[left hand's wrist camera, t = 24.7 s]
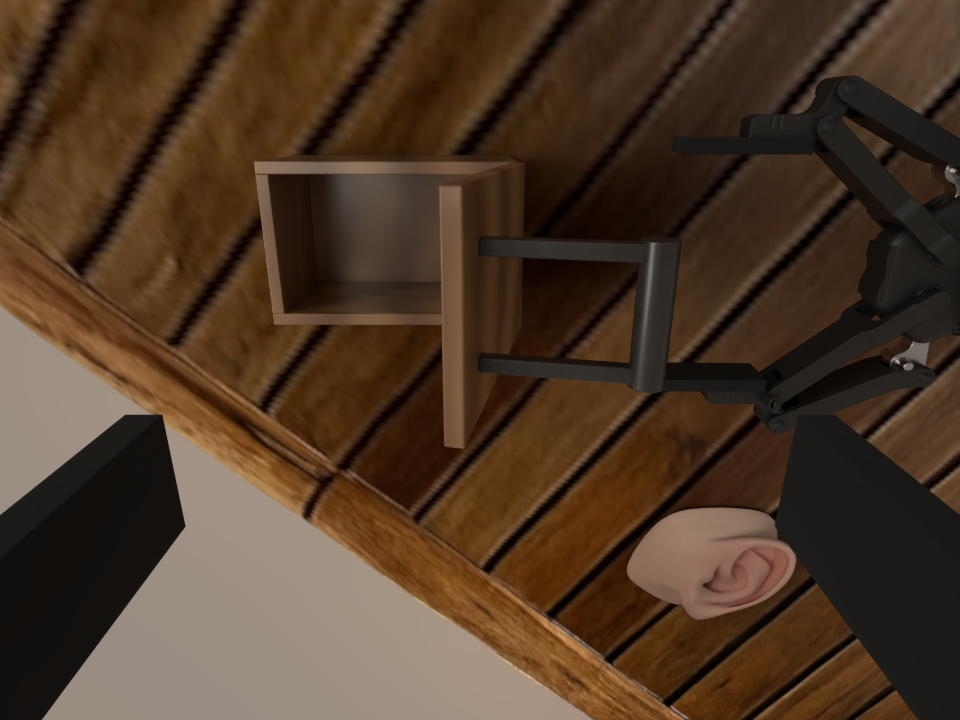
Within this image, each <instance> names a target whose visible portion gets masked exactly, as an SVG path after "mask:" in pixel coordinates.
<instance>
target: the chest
mask: <svg viewBox="0 0 960 720" xmlns="http://www.w3.org/2000/svg"><path fill="white" fill-rule="evenodd" d="M511 162H517V161H516V160H514V159H513V158H512V157H511V156H509V155H296V156H289V157H282V158H274V159H267V160H260V161H254V165H255V173H256V181H257V189H258V197H259V205H260V213H261V221H262V229H263V237H264V245H265V253H266V261H267V269H268V277H269V285H270V293H271V301H272V309H273V317H274V324H275V325H442V313H441V266H440V220H439V186H440V185H442V184H445V183H448V182H451V181H455V180H458V179H461V178H464V177H467V176H470V175H474V174H477V173H480V172H483V171H486V170H489V169H493V168H496V167H499V166H502V165H505V164H508V163H511Z"/></svg>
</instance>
